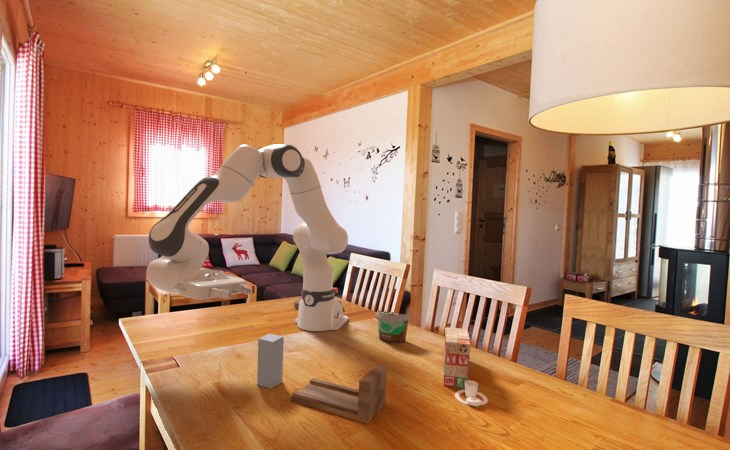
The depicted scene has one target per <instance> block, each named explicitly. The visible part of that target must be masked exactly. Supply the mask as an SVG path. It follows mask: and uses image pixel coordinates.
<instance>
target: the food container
mask: <svg viewBox="0 0 730 450" xmlns="http://www.w3.org/2000/svg"><path fill="white" fill-rule="evenodd" d="M375 317H377V324H378V325H377V326H378V339H379V341H382V342H383V343H387V344H392V343H393V344H395V343H397V344H402V343H405V342H406V339H407V331H408V326H409V321H410V320H411V319H412V318H411V315H410V312H408V313H405V314H402V313H398V312H395V311H381V310H380V308H377V311H376V314H375ZM393 344H392V345H393Z"/></svg>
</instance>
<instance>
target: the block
mask: <svg viewBox="0 0 730 450" xmlns="http://www.w3.org/2000/svg"><path fill="white" fill-rule="evenodd" d="M257 341H258V342H257V345H258V346H257V373H256V374H257V377H256V378H257V379H256V380H257V382H256V385H257V386H261V387H265V388H269V389H271V390H272V389H274V388H275V387H277V386H278V385H279V384H281V383H282V382H283V375H284V372H283V370H284V369H283V367H284V342H285V341H284V335H283V336H282V335H278V334H274V333H268V334H265V335H264V336H261V337H259V338H258V340H257Z"/></svg>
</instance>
